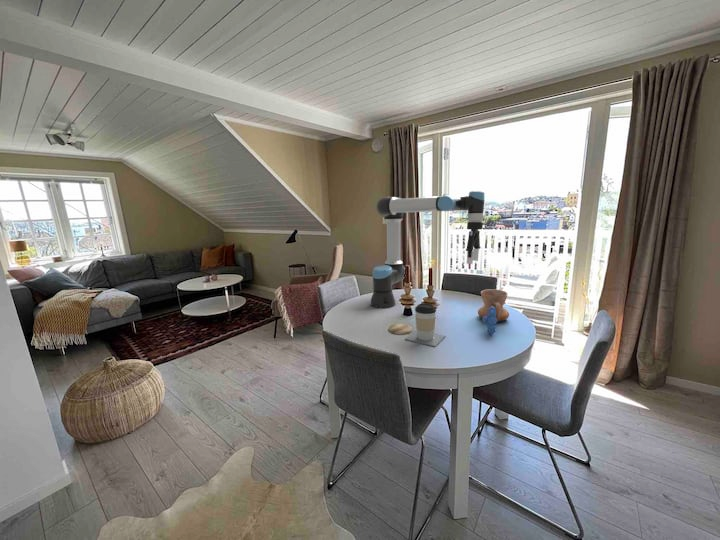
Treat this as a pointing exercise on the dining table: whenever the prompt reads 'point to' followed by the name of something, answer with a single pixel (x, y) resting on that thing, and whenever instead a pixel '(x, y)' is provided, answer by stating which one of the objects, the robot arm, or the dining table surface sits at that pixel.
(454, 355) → the dining table surface
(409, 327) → the coaster
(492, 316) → the grapes
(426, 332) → the coffee cup
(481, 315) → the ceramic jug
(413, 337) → the tile
